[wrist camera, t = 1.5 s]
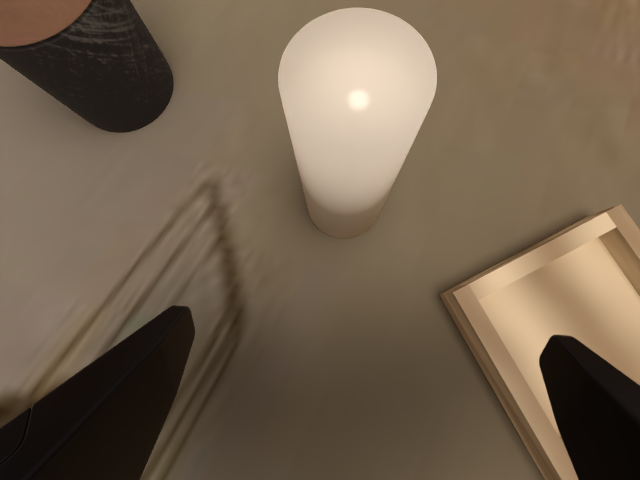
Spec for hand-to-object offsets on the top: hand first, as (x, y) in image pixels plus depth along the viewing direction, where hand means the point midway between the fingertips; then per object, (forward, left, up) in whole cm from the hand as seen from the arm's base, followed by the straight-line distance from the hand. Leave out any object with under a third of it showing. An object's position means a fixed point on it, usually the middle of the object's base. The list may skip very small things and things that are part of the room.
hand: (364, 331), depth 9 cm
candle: (+3, +7, -13) cm, 15 cm away
